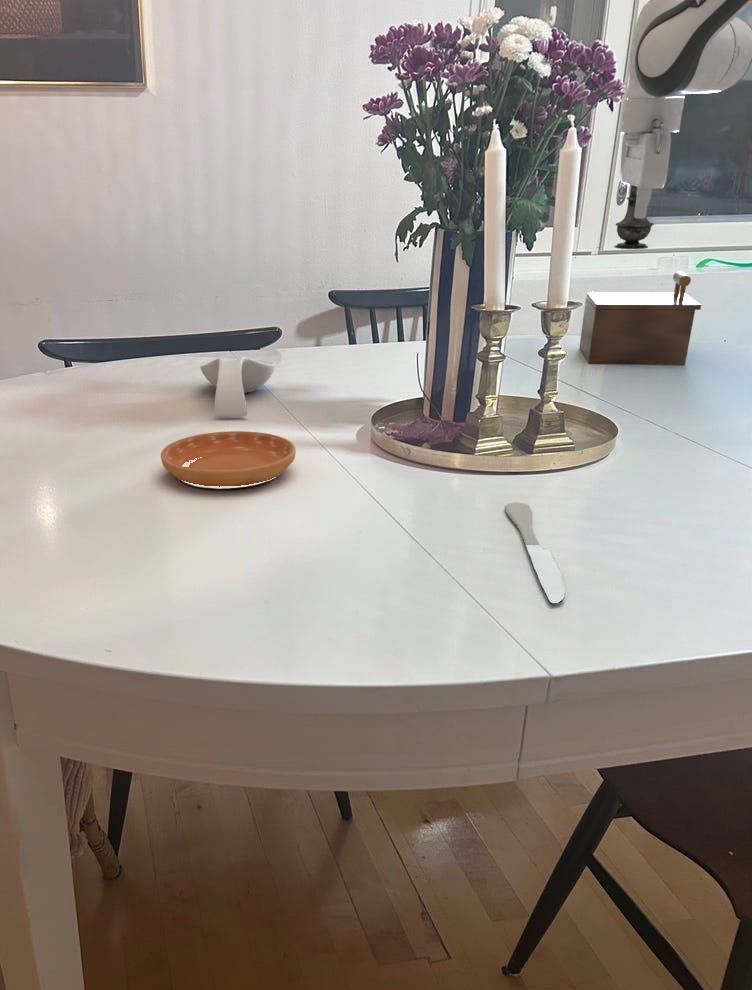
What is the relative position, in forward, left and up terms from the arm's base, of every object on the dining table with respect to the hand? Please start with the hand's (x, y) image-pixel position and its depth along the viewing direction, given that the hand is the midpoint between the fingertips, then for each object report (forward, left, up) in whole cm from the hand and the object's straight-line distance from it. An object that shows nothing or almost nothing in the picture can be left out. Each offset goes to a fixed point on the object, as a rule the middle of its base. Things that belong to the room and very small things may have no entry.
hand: (636, 217), depth 152 cm
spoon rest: (+61, +34, -22) cm, 73 cm away
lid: (-3, 0, -13) cm, 14 cm away
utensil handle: (+21, +89, -22) cm, 94 cm away
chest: (-2, 0, -22) cm, 22 cm away
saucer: (+55, +69, -22) cm, 91 cm away
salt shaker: (0, 0, -5) cm, 5 cm away
